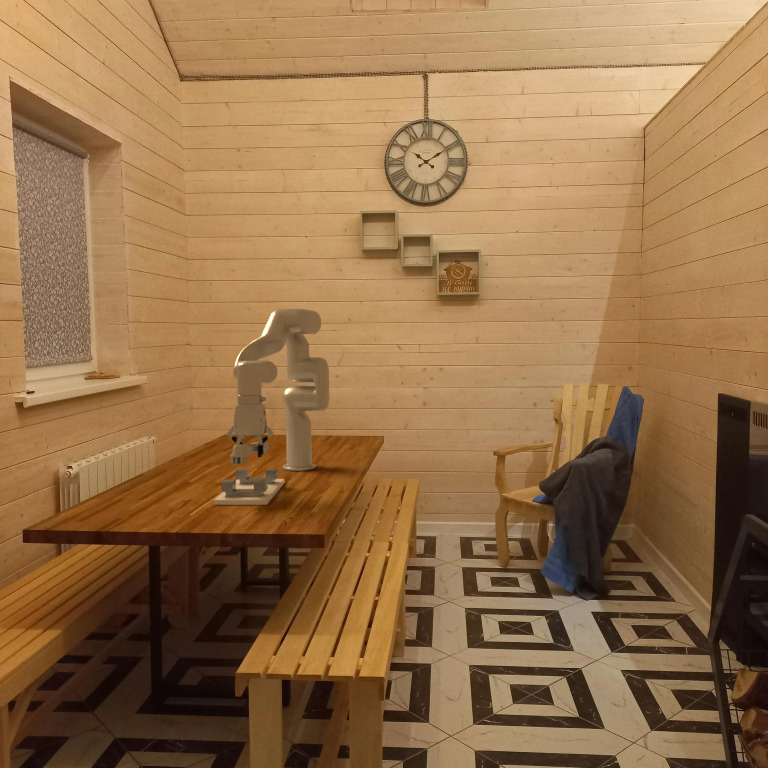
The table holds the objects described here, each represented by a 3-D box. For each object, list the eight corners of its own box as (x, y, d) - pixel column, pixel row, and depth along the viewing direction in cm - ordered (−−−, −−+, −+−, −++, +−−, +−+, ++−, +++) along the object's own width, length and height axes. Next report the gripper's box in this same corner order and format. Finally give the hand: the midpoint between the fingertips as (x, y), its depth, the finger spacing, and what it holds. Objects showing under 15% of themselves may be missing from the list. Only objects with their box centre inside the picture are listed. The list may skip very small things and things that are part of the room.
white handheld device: (271, 440, 231) (243, 441, 207) (271, 460, 231) (243, 464, 206) (257, 440, 232) (227, 441, 207) (256, 460, 232) (226, 463, 207)
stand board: (238, 483, 235) (238, 478, 235) (284, 483, 235) (284, 478, 235) (213, 504, 205) (213, 499, 205) (266, 504, 205) (266, 499, 205)
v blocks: (238, 481, 231) (238, 468, 231) (278, 481, 231) (278, 468, 230) (221, 496, 209) (221, 482, 209) (265, 496, 209) (264, 482, 208)
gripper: (278, 399, 221) (279, 454, 223) (226, 399, 222) (227, 454, 223) (273, 401, 214) (274, 458, 215) (219, 401, 214) (221, 458, 216)
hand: (250, 456), depth 219 cm, fingers closed on white handheld device, 5 cm apart
